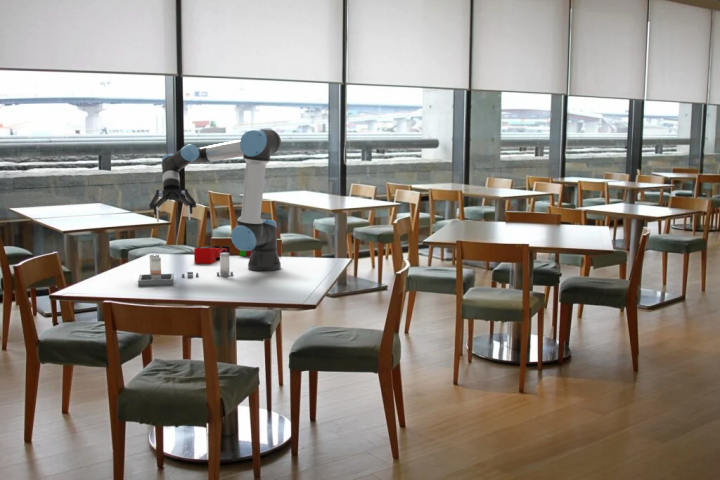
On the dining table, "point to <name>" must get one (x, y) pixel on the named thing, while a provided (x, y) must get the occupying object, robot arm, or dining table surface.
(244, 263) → the dining table surface
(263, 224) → the robot arm
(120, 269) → the dining table surface
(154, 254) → the plain fuse
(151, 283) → the charcoal tray
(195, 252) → the toy
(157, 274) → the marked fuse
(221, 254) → the plain fuse
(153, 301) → the dining table surface
